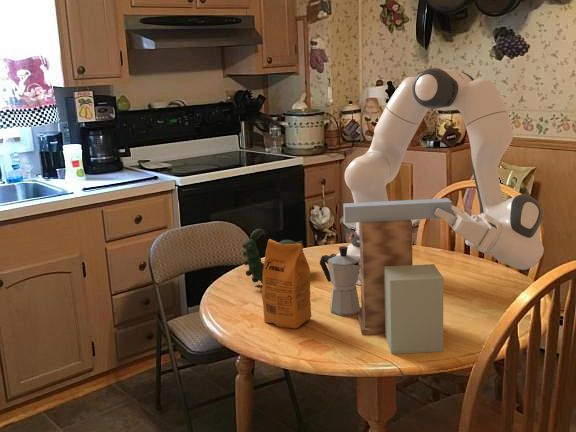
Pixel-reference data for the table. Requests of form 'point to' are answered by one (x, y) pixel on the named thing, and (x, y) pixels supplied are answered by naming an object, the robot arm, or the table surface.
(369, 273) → the walnut stand
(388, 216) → the rail
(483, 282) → the table surface
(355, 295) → the coffee maker
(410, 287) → the step block
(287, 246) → the coffee package
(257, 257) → the toy figurine
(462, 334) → the table surface
